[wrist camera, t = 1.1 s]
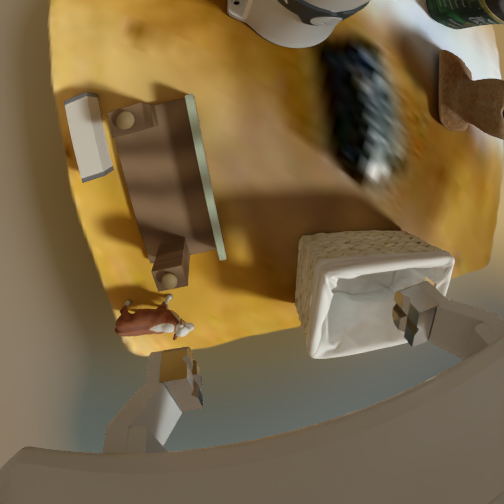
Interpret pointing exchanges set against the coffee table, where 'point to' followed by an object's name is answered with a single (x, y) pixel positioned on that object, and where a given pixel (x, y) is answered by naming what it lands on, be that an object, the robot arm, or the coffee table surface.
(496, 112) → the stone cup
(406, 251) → the storage basket
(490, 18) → the coffee jar
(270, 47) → the coffee table surface
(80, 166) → the rail bar
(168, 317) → the bull figurine
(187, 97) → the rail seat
